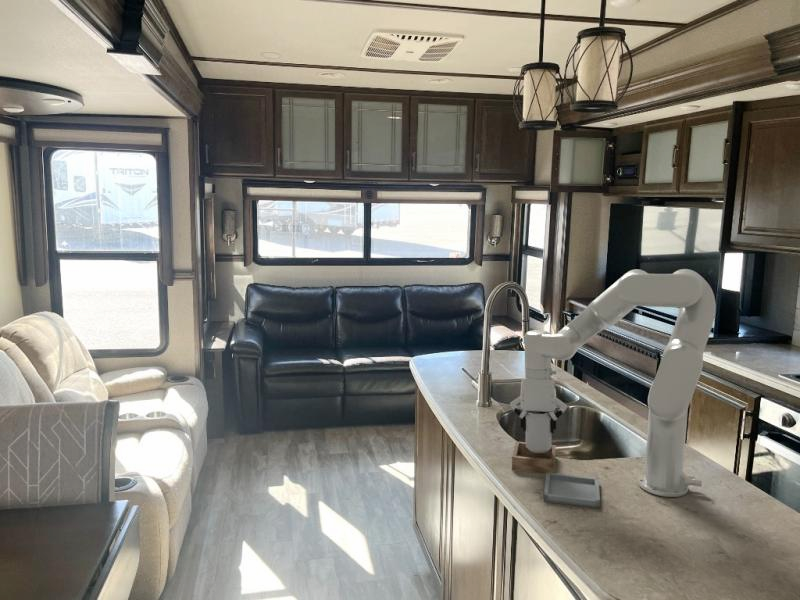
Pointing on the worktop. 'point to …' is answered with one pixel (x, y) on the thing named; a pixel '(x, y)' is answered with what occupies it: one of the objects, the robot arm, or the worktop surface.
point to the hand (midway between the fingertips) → (538, 430)
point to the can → (538, 431)
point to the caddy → (533, 459)
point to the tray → (572, 490)
